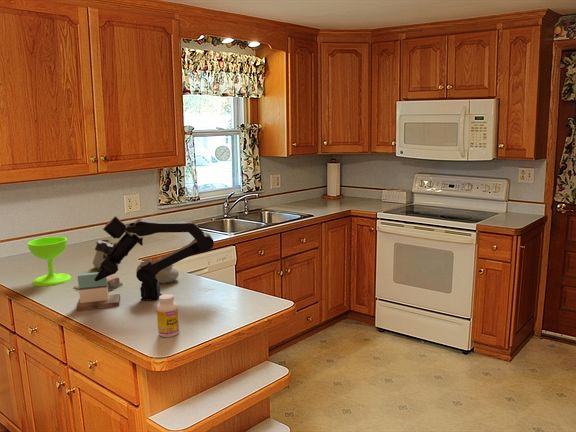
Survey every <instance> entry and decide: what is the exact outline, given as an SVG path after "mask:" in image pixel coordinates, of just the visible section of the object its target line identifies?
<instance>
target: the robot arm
mask: <svg viewBox="0 0 576 432" xmlns="http://www.w3.org/2000/svg"><path fill="white" fill-rule="evenodd" d="M102 230H103V231H104V232H105V233H106V234H107V235H109V236H110V237H111V238H113V239H119V240H118V241H117V242H114V244H110V243H111V242H110V243H107V242H104V241H101V240H102V239H98V240H97V241H98V242H97V241H96V242H97V244H96V246H95V248H94V250H95V251H101V252H104V255H103V261H102V262H101V266H100V267H99V269H98V268H97V271H96V272H99V273H98V274H97V276H96V277H95V279H94V280H95V281H99V280H101V279H103V278H105V277H107V276H113V275H115V274H116V273H117V272H118V271H119V265H120V264H121V263H122V260H124V258H125V257H128V255H129V253H130V252H131V251H132V250H133V249H134V248H135V246H136V245H137V244H138V245H140V246H141V247H142V246H143V245H144V241H143V240H144V237H145V236H150V235H154V234H160V233H171V234H172V233H189V234H190V235H191V236H192V238H194V239H193V240H192V241H190V242H189V243H188V244H186V245H184V246H182V247H180V248H179V249H176V250H175V251H173V252H169V253H168V254H167V255H164V256H162V257H160V259H159V258H157V259H155V260H152V259H151V257H150V258H147V259H146V260H145V261H141V262H140V264H139V265H138V266H137V267H136V272H135V273H136V275H135V276H136V279H137V280H138V282H141V283H140V285H141V286H140V287H139V289H140V297H141V298H140V301H159V296H161V295H163V294H162V293H161V288H160V283H159V281H158V278H157V274H158V273H159V272H160V271H161V270H163V269H165V268H167V267H169V266H171V265H172V266H173V265H174V264H176V263H179V262H180V261H182V260H184V259H186V258H188V257H191V256H193V255H194V254H195V255H196V254H201V253H204V252H208V251H210V250H212V249H213V248H214V246H215V245H214V243H215V242H214V239H213V237H212V235H211V234H210V233H207V232H204V230H202V229H200V227H199V226H197V225H196V223H194V221H192V220H188V221H155V220H152V219H146V218H138V219H137V220H135V221H134V222H130V223H126V224H125V223H124V222H123V221H122V220H121V219H119V217H117V216H114V217H113V218H112V219H110V220H109V221H108V222H107V223H106V224H105V225H104V227H103V228H102ZM105 254H106V255H105Z"/></svg>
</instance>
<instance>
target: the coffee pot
mask: <svg viewBox="0 0 576 432" xmlns="http://www.w3.org/2000/svg"><path fill="white" fill-rule="evenodd" d="M100 240H101V241H104V242H107V243H110V244H112V245H114V243H115V242H114V243H113V242H111V240H110V239H100ZM97 242H98V240H97V241H95V244H96V245H97ZM95 251H96V250H95ZM103 255H104V252H101V251H96V252H95V255H94V258H93V260H92V264H93V267H95V268H96V269H97V270H98V269H99V267H100V266H101V262H102V261H103ZM105 255H106V254H105Z"/></svg>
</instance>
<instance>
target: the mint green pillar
mask: <svg viewBox="0 0 576 432" xmlns="http://www.w3.org/2000/svg"><path fill="white" fill-rule="evenodd" d="M98 273H99V272H97V271H96V272H85V273H79V274H77V281H78V282H77V283H78V284H77V285H79V288H88V287H98V286H107V277H105V278H103V279H101V280H99V281H95V280H94V279H95V277H96V276H97V274H98Z"/></svg>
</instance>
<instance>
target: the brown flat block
mask: <svg viewBox="0 0 576 432" xmlns="http://www.w3.org/2000/svg"><path fill="white" fill-rule="evenodd" d="M108 296H109V299H108V300H104V301H95V302H86V303H80V298H79V299H78V301H77V304H76V311H85V310H93V309H94V310H95V309H103V307H104V308H111V307H112V306H113V307H119V306H120V301H121V294H120V293H116V294H115V293H114V294H113V293H112V294H108Z"/></svg>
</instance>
